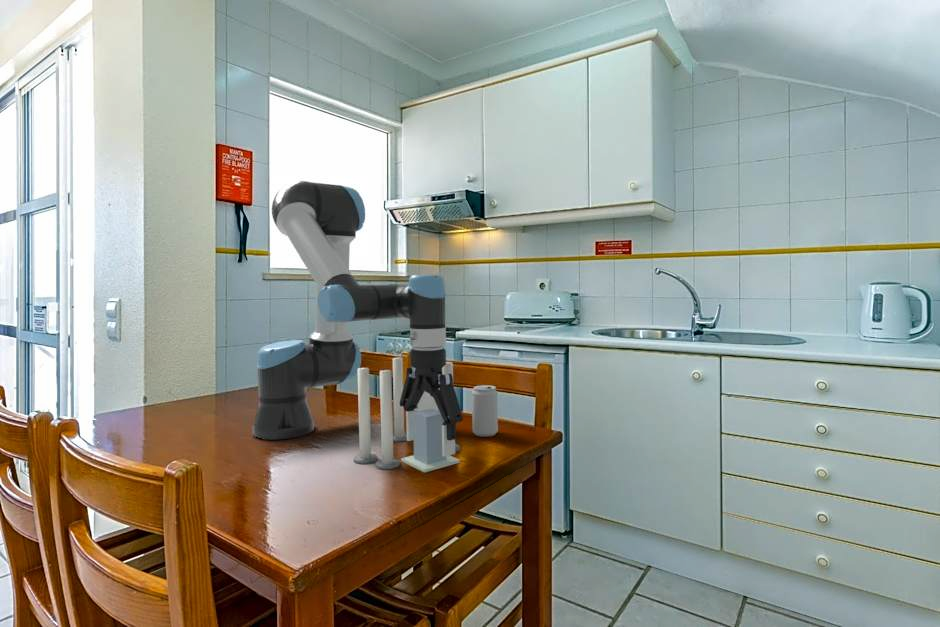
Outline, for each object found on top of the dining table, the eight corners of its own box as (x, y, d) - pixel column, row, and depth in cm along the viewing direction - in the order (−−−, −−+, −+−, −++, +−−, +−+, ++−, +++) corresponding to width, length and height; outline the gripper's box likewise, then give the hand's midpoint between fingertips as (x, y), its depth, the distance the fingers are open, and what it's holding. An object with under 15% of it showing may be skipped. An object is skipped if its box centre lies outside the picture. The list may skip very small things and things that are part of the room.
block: (413, 458, 112) (412, 412, 111) (433, 453, 115) (432, 408, 114) (427, 464, 108) (426, 417, 107) (446, 459, 111) (445, 413, 110)
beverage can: (495, 438, 127) (495, 389, 127) (470, 437, 129) (469, 389, 128) (499, 430, 134) (499, 384, 133) (475, 429, 135) (474, 384, 134)
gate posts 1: (349, 462, 111) (346, 370, 110) (395, 435, 131) (393, 356, 130) (369, 464, 110) (367, 371, 109) (412, 436, 130) (411, 357, 128)
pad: (401, 461, 112) (401, 458, 112) (435, 452, 118) (435, 449, 117) (424, 472, 105) (424, 469, 105) (459, 462, 110) (459, 459, 110)
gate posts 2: (371, 464, 110) (368, 370, 109) (451, 444, 123) (449, 360, 122) (383, 471, 106) (380, 374, 105) (464, 449, 119) (462, 362, 118)
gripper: (383, 344, 117) (385, 437, 118) (448, 355, 98) (450, 466, 99) (411, 341, 122) (413, 431, 123) (479, 351, 102) (480, 457, 104)
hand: (429, 447), depth 111 cm, fingers open, 13 cm apart
